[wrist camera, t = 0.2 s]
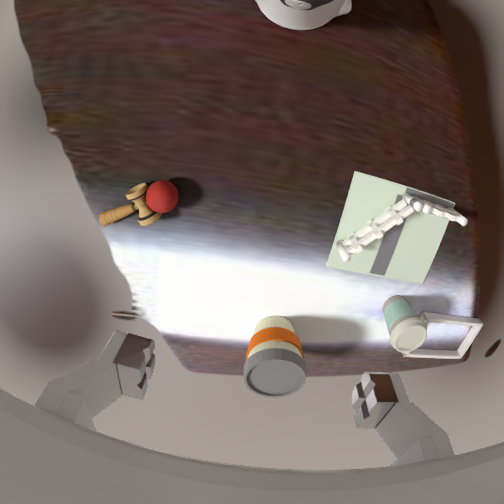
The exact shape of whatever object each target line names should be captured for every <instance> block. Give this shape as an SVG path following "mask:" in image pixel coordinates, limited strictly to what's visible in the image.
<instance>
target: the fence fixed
mask: <svg viewBox="0 0 504 504" xmlns="http://www.w3.org/2000/svg"><path fill="white" fill-rule="evenodd" d="M412 197H413V198H415V199H417V200H418V201H420V202H421V204H422V205H423V209H422V211H423V212H424V213H425V214H430V213H433V214H435V215H437V216H439V217H445V218H448V219H449V220H452V221H457V222H458V223H460V224H461V225H462V226H465V225H466V224H467V219H466V218H465V217H463V216H462V215H461V214H459V213H458V212H457V211H455V210H454V209H452V208H451V207H448V208H444V207H442V206H441V205H438V204H436V205H435V204H432V203H430V202H429V201H426V200H424V201H423V200H421V199H420V198H418V197H417V196H415V195H413V196H412Z"/></svg>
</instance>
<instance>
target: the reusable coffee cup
mask: <svg viewBox="0 0 504 504" xmlns="http://www.w3.org/2000/svg"><path fill="white" fill-rule="evenodd" d="M303 359H304V356H303V352H302V348H301V345H300V341H299V339H298V337H297V336H296V334H295V331H294V327H293V325H292V323H291V322H290V321H289V320H288V319H286V318H284V317H280V316H269V317H266V318H264V319H262V320H260V321H259V322H258V324H257V325H256V328H255V332H254V335H253V337H252V338H251V340H250V344H249V347H248V351H247V355H246V362H245V365H244V380H245V383H246V385H247V387H248V388H249V389H250V390H251V391H253V392H254V393H256V394H258V395H261V396H265V397H283V396H287V395H290V394H292V393H295V392H296V391H298V390H299V389H300V388H301V387H302V386H303V384H304V383H305V379H306V364H305V361H304V360H303Z"/></svg>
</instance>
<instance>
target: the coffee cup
mask: <svg viewBox="0 0 504 504" xmlns="http://www.w3.org/2000/svg"><path fill="white" fill-rule="evenodd" d="M383 312H384V316H385V320H386V323H387V327H388V331H389V335H390V343H391V345H392V346H393V347H394V348H395V349H396V350H397V351H399V352H403V353H406V352H411V351H413V350H415V349H417V348H418V347H420V346H421V345H422V344H423V342H424V341H425V339H426V337H427V327H426V323H425V322H424V321H423V320H422V319H420V317H419V316H418V315H417V314H416V312H415V311H414V310H413V309H412V308H411V306H410V305H409V304H408V303H407V301H406V300H405V299H404V298H403V297H402V296H393V297H391V298H389V299H388V300H387V301H386V302H385V303H384V305H383Z"/></svg>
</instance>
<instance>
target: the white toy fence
mask: <svg viewBox="0 0 504 504" xmlns="http://www.w3.org/2000/svg"><path fill="white" fill-rule="evenodd" d="M406 202H407V203H408V204H409V205H408V206H407V204H406ZM406 206H407V207H406ZM404 207H405V208H404ZM403 208H404V209H403ZM413 209H414V210H416V211H418V212H419V211H421V210H422V209H423V205H422V204H421V202H420V201H418V200H417V199H415V198H413V197H412V196H411V195H409V194H408V193H405V194H404V195H403V199H402V200H401V201H399V202H398V203H397V204H395V205H394V206H393V207H390V206H389V207H388V208H386V209H385V211H386V212H384V213H383V214H381V215H380V216H379V217H377V218H376V219H374V220H373V221H372V220H370V221H368V222H367V225H366V226H364V227H363V228H362V229H360V230H359V231H357V232H356V233H354V234H353V232H352V233H351V234H350V235H348V238H347V239H346V240H344V241H342V240H339V241H337V242H336V246H337V248H338V250H339V253H340V255H341V257H342V260H343V261H344V262H349V261H350V260H351V255H353V254H354V253H355V252H357V253H360V252H361V251H362V250H363V249H362V248H363V247H364V246H366V245H367V244H369V243H370V242H371V241H373V240H374V239H376V238H377V239H380V238H381V237H383V233H384V232H386V231H387V230H389V229H390V228H391V227H393V226H394V225H396V224H397V225H400V224H401V223H402V222H403V219H404V218H405V217H407V216H408V215H409V214H411V213H412V212H414V210H413ZM400 210H401V211H400ZM399 211H400V212H399ZM397 212H398V213H397ZM390 217H391V218H390ZM389 218H390V219H389ZM388 219H389V220H388ZM386 220H387V221H386ZM385 221H386V222H385ZM383 222H384V223H383ZM382 223H383V224H382ZM381 224H382V225H381ZM379 225H380V226H379ZM378 226H379V227H378ZM371 231H372V232H371ZM369 232H370V233H369ZM368 233H369V234H368ZM366 234H367V235H366ZM365 235H366V236H365ZM363 236H364V237H363ZM362 237H363V238H362ZM361 238H362V239H361ZM359 239H360V240H359ZM358 240H359V241H358ZM350 245H351V246H350ZM349 246H350V247H349ZM347 247H348V248H347Z"/></svg>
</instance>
